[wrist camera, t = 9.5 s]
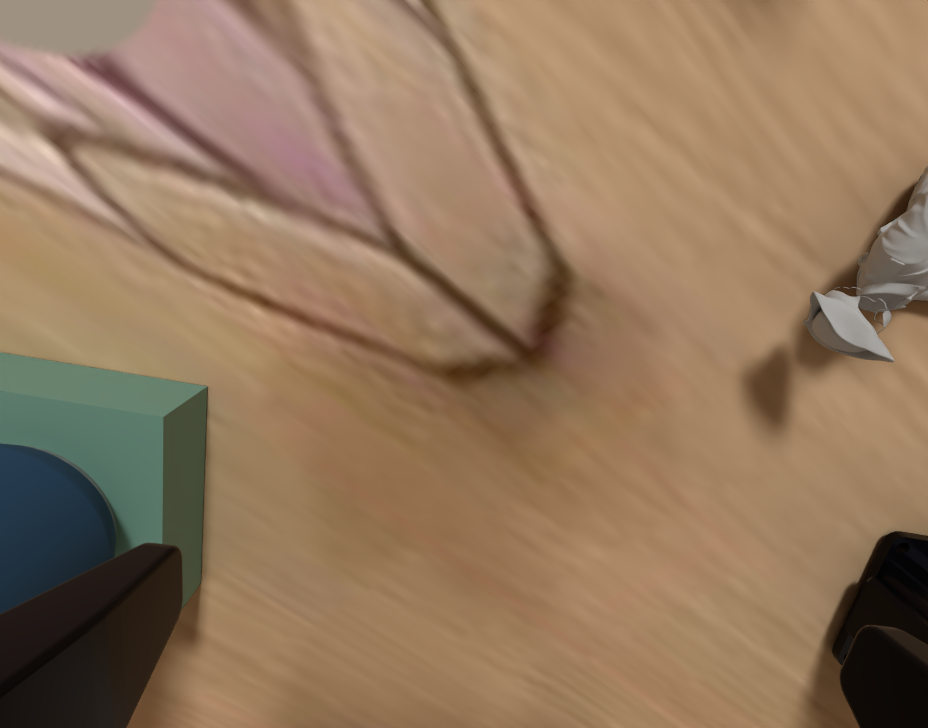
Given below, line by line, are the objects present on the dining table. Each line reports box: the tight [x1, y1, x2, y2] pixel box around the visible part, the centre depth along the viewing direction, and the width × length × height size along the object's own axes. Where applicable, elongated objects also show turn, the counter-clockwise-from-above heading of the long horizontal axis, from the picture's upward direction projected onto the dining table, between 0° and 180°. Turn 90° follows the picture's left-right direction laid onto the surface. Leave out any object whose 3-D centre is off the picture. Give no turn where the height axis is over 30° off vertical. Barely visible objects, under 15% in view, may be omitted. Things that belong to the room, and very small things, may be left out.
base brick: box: [0, 352, 207, 610], centre depth 20 cm, size 10×9×3 cm
